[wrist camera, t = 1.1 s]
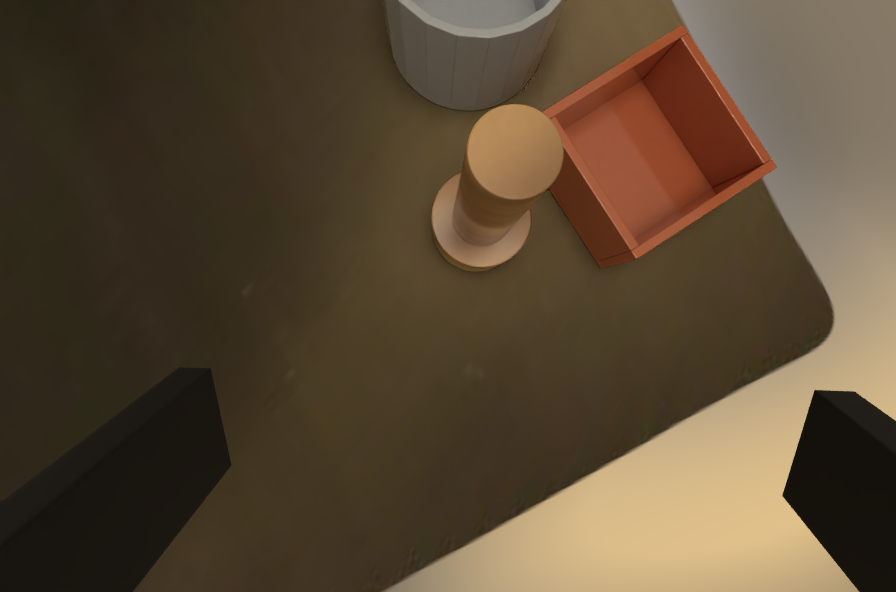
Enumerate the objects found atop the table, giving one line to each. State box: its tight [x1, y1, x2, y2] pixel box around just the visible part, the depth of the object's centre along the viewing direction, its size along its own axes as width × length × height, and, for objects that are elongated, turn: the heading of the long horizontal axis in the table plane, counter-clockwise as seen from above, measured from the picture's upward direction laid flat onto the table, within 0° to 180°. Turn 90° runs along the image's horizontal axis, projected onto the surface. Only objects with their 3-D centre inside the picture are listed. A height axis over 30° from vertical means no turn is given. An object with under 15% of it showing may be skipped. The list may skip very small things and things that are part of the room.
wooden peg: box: [431, 104, 564, 272], centre depth 24 cm, size 6×6×15 cm
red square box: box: [542, 25, 776, 269], centre depth 29 cm, size 10×10×6 cm
